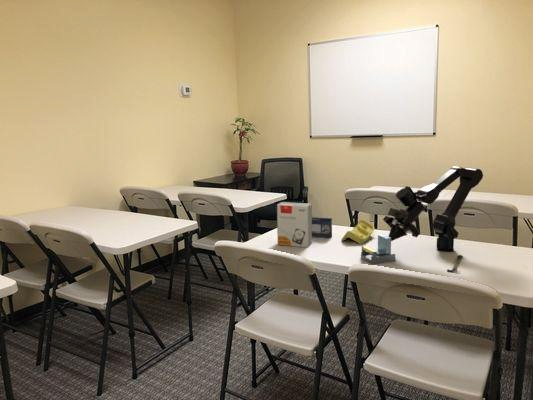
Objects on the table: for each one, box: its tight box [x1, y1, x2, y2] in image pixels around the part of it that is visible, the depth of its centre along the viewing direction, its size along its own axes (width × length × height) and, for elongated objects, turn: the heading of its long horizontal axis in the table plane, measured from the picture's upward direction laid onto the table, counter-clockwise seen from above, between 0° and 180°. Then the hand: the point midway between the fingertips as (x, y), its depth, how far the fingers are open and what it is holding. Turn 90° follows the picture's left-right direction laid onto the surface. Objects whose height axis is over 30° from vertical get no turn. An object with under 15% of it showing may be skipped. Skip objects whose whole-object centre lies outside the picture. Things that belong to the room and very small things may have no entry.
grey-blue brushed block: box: [374, 233, 392, 256], centre depth 172 cm, size 6×6×8 cm
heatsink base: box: [360, 245, 397, 265], centre depth 172 cm, size 11×9×5 cm
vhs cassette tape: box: [312, 216, 333, 239], centre depth 210 cm, size 18×3×10 cm, turn 70°
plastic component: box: [341, 219, 375, 244], centre depth 205 cm, size 20×7×10 cm
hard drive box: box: [276, 201, 313, 248], centre depth 196 cm, size 16×8×20 cm, turn 68°
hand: (388, 241), depth 173 cm, fingers closed
